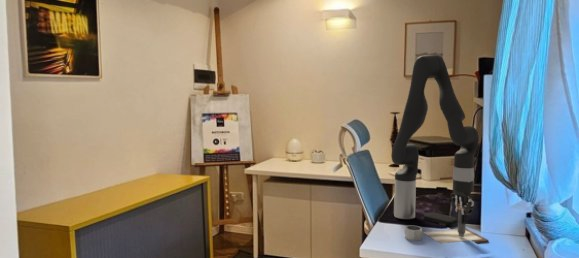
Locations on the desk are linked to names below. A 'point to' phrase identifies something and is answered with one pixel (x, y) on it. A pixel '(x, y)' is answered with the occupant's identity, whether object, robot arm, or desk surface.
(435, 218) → the carrying case or bag
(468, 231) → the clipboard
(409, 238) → the pen cup
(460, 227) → the marker
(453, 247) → the desk surface
